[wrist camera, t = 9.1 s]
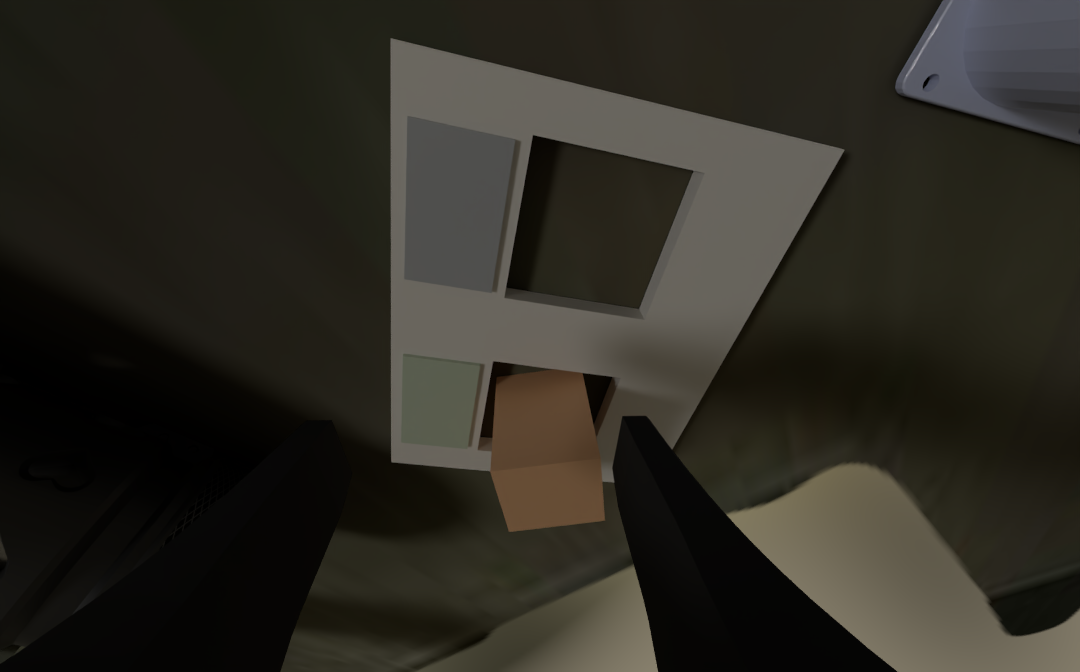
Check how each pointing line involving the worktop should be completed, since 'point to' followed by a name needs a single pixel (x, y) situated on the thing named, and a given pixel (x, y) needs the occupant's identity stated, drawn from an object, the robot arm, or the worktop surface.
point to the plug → (545, 451)
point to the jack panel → (553, 321)
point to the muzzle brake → (87, 503)
